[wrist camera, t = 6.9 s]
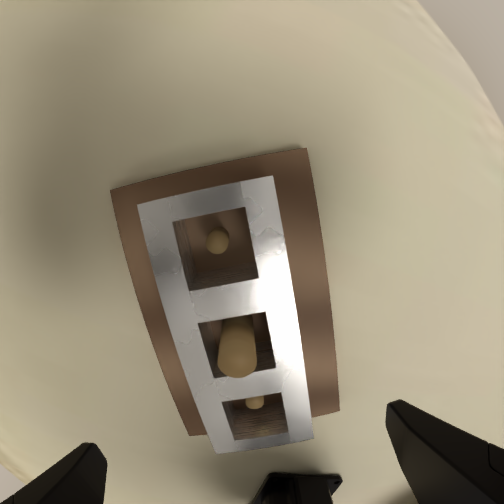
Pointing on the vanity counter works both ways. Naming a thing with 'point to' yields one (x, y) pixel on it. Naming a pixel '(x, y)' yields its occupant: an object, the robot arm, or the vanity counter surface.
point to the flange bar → (232, 315)
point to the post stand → (235, 253)
